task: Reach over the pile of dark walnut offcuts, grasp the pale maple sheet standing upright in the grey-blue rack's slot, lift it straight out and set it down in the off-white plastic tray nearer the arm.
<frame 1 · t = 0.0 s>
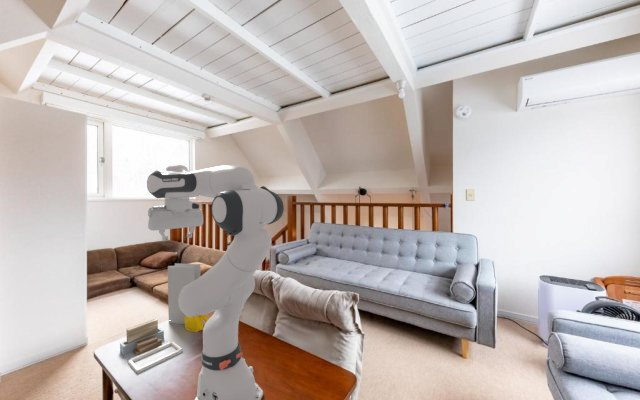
hand: (177, 239, 103), 48 cm above the table, fingers open, 8 cm apart
tray: (156, 359, 101), on the table
rack: (145, 349, 107), on the table
offcut a: (147, 349, 106), point 1 cm above the table, touching offcut b, rack
maple sheet: (143, 344, 109), point 1 cm above the table, touching rack
grey tall block: (185, 323, 130), on the table
offcut c: (146, 343, 106), point 4 cm above the table, touching offcut b
figure statuette: (194, 331, 122), on the table
offcut b: (149, 345, 106), point 2 cm above the table, touching offcut a, offcut c
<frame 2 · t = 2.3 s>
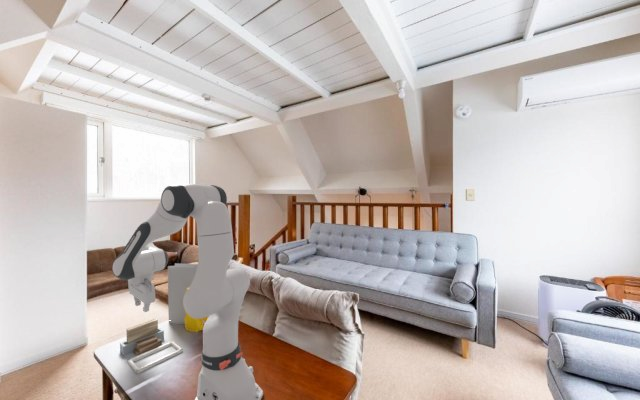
hand: (141, 308, 109), 17 cm above the table, fingers open, 8 cm apart
nothing on the table moved.
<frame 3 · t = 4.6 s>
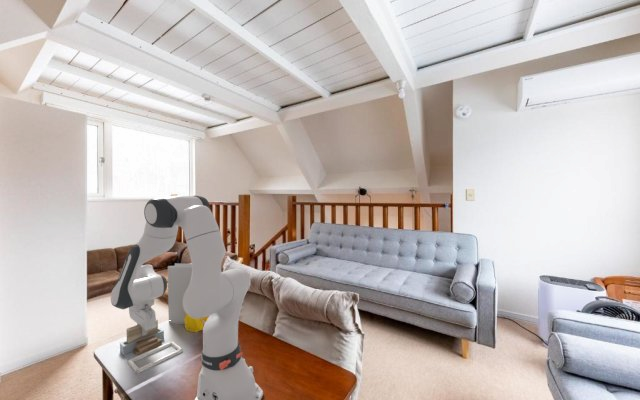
hand: (142, 333, 109), 6 cm above the table, fingers closed on maple sheet, 2 cm apart
maple sheet: (143, 344, 109), point 1 cm above the table, touching gripper, rack
everything else where it was.
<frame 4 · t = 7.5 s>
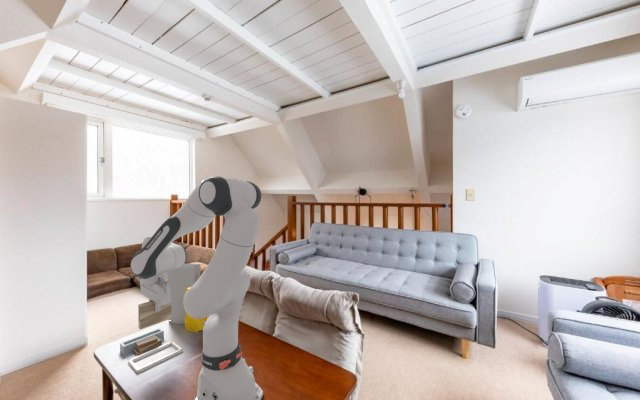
hand: (155, 310, 100), 20 cm above the table, fingers closed on maple sheet
maple sheet: (155, 323, 101), point 15 cm above the table, touching gripper
everything else where it was.
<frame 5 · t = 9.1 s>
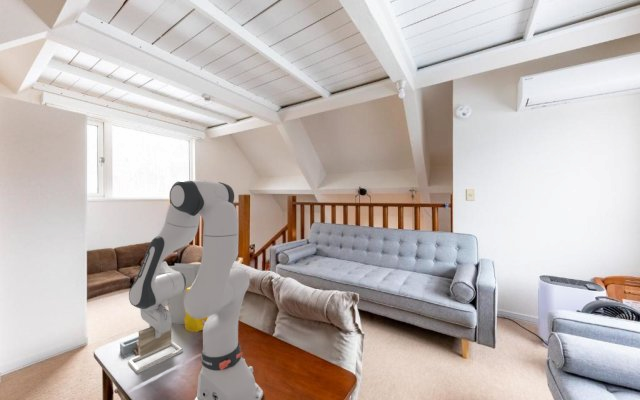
hand: (155, 335, 101), 10 cm above the table, fingers closed on maple sheet
maple sheet: (155, 348, 101), point 4 cm above the table, touching gripper
everything else where it was.
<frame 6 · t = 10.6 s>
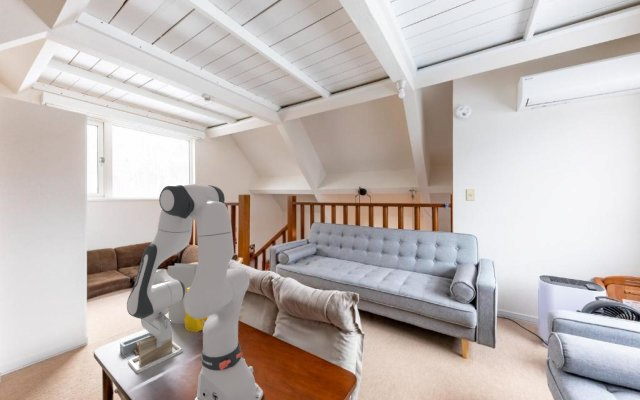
hand: (156, 344, 101), 6 cm above the table, fingers open, 4 cm apart
maple sheet: (156, 358, 101), point 1 cm above the table, touching tray
everything else where it was.
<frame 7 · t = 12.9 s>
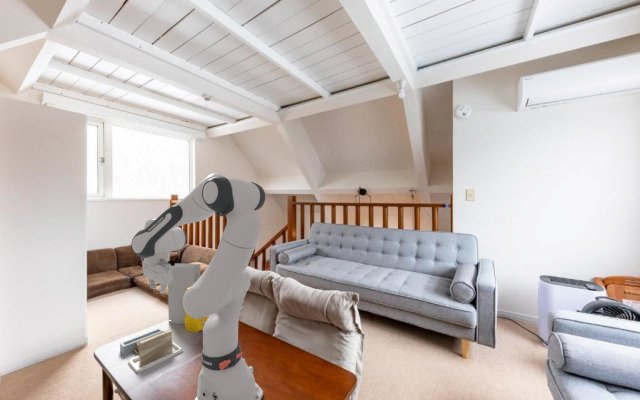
hand: (157, 290, 104), 26 cm above the table, fingers open, 8 cm apart
nothing on the table moved.
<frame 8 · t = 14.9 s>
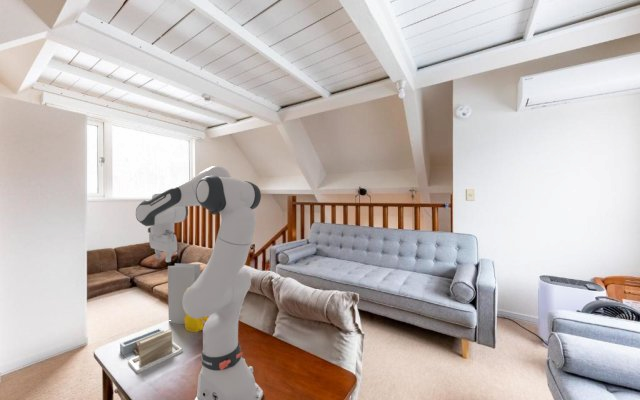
hand: (163, 260, 112), 37 cm above the table, fingers open, 8 cm apart
nothing on the table moved.
at the end: maple sheet inside the target area on the tray (0.1 cm from its centre), point 0.6 cm above the tray's base; maple sheet moved 14.4 cm from its start; the gripper is holding nothing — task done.
